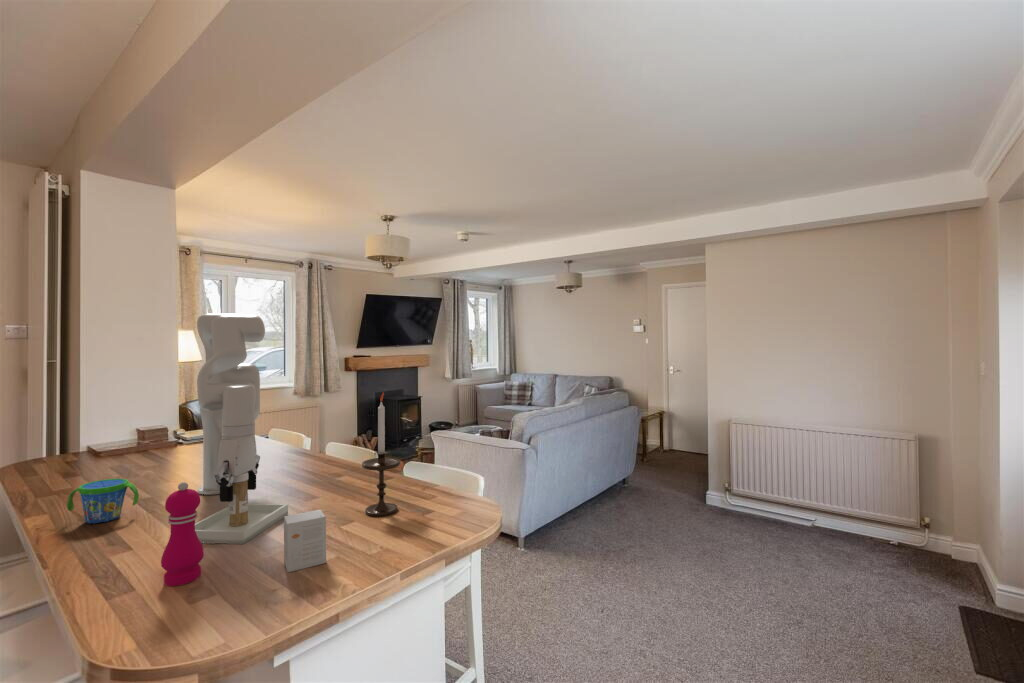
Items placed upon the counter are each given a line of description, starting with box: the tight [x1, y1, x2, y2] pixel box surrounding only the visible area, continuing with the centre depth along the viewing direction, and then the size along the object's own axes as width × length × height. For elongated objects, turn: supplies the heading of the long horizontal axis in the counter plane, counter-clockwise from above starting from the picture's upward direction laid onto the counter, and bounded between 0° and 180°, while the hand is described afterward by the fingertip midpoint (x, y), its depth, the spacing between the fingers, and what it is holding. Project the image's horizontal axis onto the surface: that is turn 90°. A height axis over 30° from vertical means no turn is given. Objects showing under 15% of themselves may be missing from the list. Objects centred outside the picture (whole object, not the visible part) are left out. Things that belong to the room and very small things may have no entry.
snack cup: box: [66, 478, 139, 525], centre depth 130 cm, size 16×10×10 cm
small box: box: [283, 509, 327, 573], centre depth 103 cm, size 8×6×10 cm
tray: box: [195, 503, 289, 545], centre depth 124 cm, size 20×16×3 cm
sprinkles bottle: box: [228, 472, 249, 526], centre depth 124 cm, size 5×5×14 cm
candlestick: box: [361, 391, 401, 518], centre depth 136 cm, size 11×11×35 cm
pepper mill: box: [160, 481, 205, 587], centre depth 97 cm, size 7×7×20 cm
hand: (238, 495), depth 124 cm, fingers open, 9 cm apart
